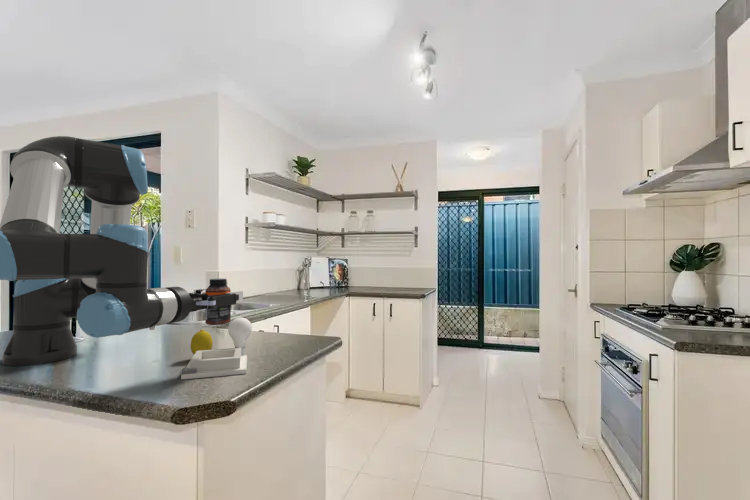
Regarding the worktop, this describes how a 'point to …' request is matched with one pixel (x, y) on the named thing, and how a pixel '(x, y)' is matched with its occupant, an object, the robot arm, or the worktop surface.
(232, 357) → the socket
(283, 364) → the worktop surface
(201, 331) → the lemon
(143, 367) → the worktop surface
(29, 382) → the worktop surface
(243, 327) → the lightbulb
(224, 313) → the supplement bottle
